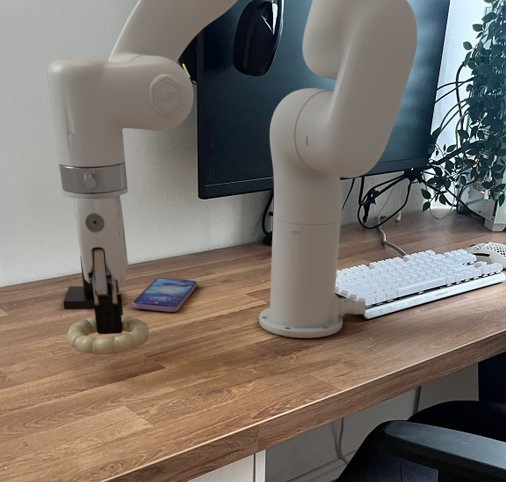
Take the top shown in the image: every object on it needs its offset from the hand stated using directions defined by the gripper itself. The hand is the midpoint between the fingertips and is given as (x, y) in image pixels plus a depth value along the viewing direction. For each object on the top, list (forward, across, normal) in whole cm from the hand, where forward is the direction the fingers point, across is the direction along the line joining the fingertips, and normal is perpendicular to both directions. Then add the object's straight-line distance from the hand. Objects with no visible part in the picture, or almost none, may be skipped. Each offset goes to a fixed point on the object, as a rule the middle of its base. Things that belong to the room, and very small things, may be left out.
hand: (110, 327), depth 90 cm
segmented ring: (-1, -4, 0) cm, 4 cm away
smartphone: (+4, +25, -7) cm, 26 cm away
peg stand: (+4, +24, +5) cm, 25 cm away
